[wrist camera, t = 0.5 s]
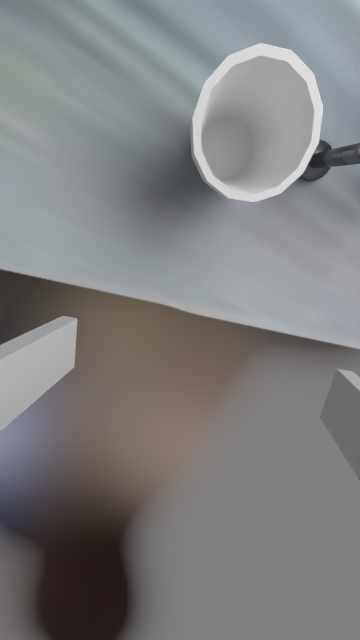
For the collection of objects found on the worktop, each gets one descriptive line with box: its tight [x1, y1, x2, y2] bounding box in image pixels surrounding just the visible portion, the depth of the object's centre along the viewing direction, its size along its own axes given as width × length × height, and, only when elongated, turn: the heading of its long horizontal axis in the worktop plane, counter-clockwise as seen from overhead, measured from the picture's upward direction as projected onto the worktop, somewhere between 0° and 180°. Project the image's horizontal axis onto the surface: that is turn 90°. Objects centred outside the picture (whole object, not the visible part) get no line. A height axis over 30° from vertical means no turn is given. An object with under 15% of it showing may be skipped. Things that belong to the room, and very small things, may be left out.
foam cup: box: [190, 43, 323, 202], centre depth 26 cm, size 10×9×13 cm
